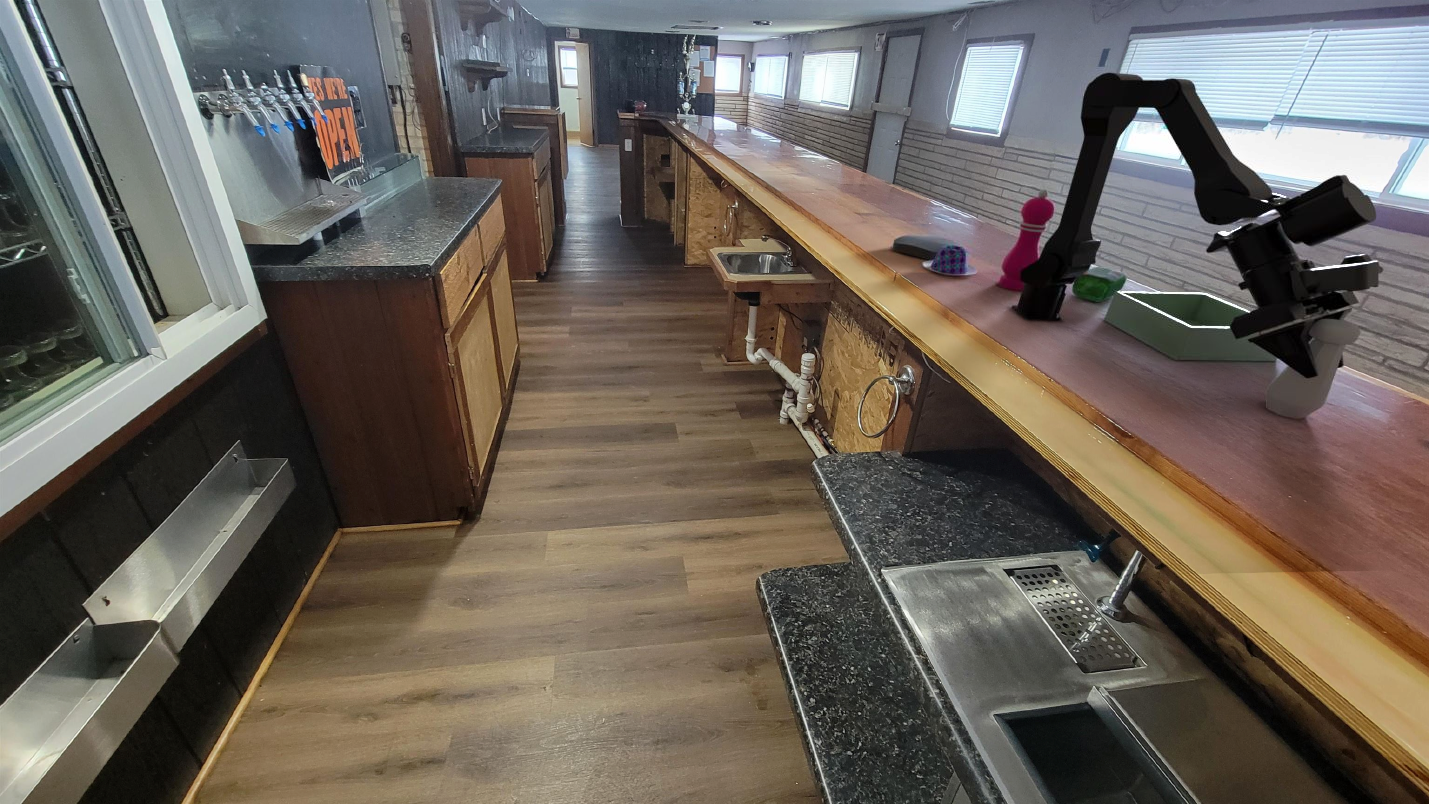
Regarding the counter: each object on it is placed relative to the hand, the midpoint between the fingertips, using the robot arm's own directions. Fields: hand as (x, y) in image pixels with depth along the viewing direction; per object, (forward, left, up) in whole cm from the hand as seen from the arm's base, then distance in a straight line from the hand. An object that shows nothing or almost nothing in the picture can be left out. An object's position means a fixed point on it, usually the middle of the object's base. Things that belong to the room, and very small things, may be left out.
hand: (1325, 372), depth 73 cm
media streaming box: (-20, +81, -7) cm, 84 cm away
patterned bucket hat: (-21, +65, -7) cm, 69 cm away
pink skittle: (-11, +54, -7) cm, 56 cm away
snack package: (+4, +49, -7) cm, 50 cm away
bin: (+5, +26, -7) cm, 28 cm away
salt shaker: (-1, +1, -7) cm, 7 cm away
